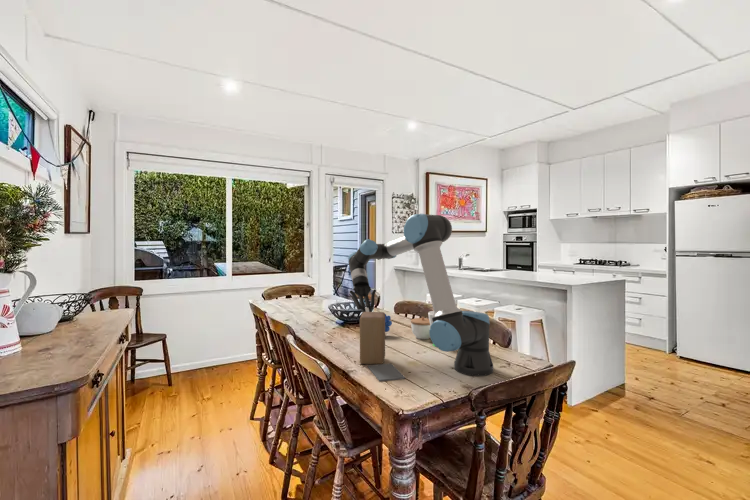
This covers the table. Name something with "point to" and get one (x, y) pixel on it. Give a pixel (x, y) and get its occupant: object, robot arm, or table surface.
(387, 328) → the grapes
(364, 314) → the wooden block
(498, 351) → the table surface
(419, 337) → the lidded bowl
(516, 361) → the table surface
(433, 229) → the robot arm
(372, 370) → the rubber mat
